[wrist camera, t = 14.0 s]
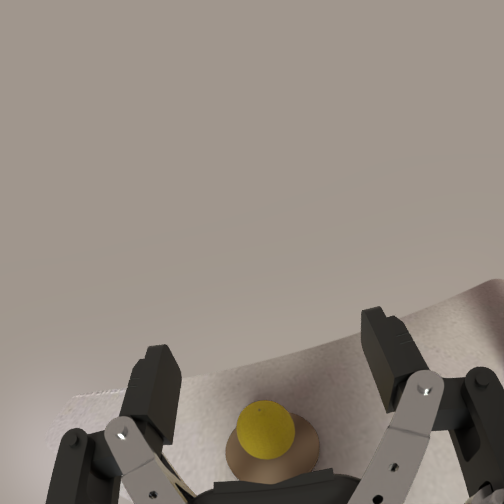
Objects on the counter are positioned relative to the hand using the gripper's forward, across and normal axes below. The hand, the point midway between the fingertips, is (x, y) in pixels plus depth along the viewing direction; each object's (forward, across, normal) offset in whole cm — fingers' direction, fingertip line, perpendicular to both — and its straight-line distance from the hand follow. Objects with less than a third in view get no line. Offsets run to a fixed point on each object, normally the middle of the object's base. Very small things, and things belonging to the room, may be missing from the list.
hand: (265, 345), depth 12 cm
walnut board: (+7, +3, +23) cm, 24 cm away
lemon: (+6, +3, +23) cm, 24 cm away
